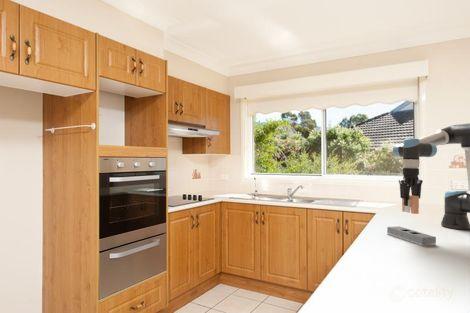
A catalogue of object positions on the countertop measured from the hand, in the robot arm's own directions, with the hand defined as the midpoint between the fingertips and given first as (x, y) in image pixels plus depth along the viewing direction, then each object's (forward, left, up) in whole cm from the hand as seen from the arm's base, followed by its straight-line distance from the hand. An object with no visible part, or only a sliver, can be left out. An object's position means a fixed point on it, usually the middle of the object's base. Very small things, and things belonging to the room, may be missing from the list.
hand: (410, 211), depth 163 cm
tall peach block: (0, 0, 0) cm, 0 cm away
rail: (0, 0, -14) cm, 14 cm away
